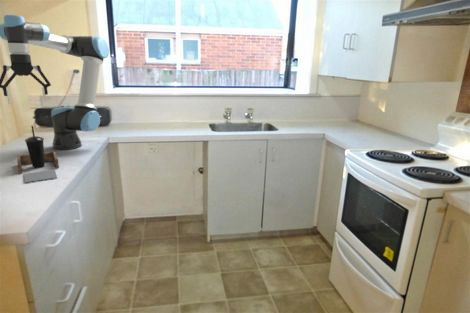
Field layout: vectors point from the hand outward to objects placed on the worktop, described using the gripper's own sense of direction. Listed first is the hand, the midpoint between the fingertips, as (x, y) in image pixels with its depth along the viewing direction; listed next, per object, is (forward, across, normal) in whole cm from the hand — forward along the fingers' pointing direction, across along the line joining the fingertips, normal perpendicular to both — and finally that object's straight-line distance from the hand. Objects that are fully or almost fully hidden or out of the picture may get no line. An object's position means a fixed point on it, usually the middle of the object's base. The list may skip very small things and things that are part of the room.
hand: (27, 102), depth 148 cm
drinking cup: (+31, 0, 0) cm, 31 cm away
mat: (+31, 0, +16) cm, 35 cm away
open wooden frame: (+31, 0, 0) cm, 31 cm away
